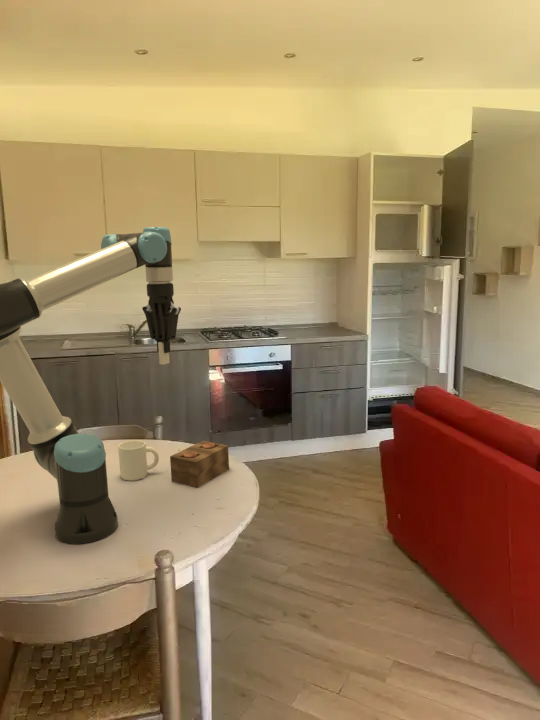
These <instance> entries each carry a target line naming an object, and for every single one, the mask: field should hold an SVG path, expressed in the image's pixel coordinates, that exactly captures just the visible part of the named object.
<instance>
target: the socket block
mask: <svg viewBox="0 0 540 720" xmlns="http://www.w3.org/2000/svg"><path fill="white" fill-rule="evenodd" d="M205 443H214V444H215V448H213V449H211V450H208V449H204V448H202V445H203V444H205ZM186 452H196V453H197V457H195V458H193V459H188V458H184V453H186ZM229 459H230V458H229V445H227V444H223V443H217V442H212V441H208V440H201V441H200V442H197V443H195V444H193V445H191V446H189V447H187V448H185V449H183V450H180V451H179V452H176V453H174V454H172V455H170V456H169V460H170V461H169V463H170V479H171V482H173V483H175V484H181V485H185V486H189V487H192V488H196V489H198V488H200V487H201V486H203V485H205V484H207V483H209V482H210V481H211V480H213V479H215V478H217V477H218V476H221V475H222V474H224V473H226V472H227V471H229V470H230V463H229V462H230V461H229Z"/></svg>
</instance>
